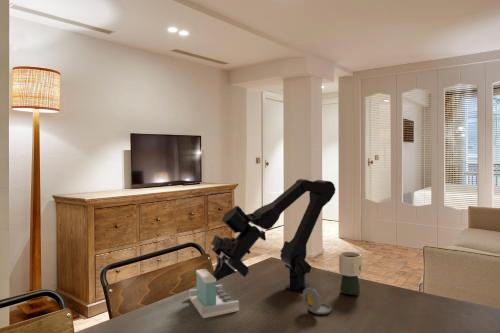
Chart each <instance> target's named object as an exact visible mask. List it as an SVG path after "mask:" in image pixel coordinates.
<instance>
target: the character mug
mask: <svg viewBox="0 0 500 333" xmlns="http://www.w3.org/2000/svg"><path fill="white" fill-rule="evenodd" d="M338 271H339V273H340V275H342V276H341V281H340V290H339V291H340V292H341V293H343V294H346V295H350V296H352V295H353V296H357V295H360V293H361V289H360V286H361V285H360V280H359V279H360V278H359V277H358V276H360V275H361V274H362V254H361V253H359V252H356V251H347V250H346V251H341V252H339V253H338Z"/></svg>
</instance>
